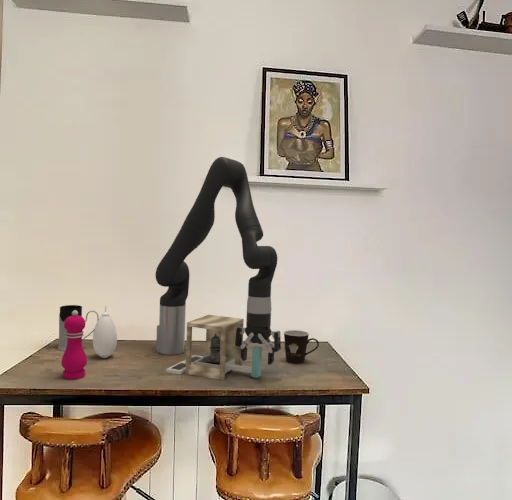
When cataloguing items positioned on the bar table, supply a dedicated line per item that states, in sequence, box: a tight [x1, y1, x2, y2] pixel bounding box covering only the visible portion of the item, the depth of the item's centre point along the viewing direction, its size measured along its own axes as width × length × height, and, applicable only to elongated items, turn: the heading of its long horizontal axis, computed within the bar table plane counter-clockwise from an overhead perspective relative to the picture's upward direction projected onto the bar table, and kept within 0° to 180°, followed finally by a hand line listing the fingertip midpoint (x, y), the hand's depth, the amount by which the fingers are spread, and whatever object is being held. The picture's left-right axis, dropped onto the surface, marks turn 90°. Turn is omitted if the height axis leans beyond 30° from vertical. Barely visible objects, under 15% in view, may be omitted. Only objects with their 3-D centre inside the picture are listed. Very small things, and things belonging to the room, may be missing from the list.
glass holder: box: [57, 304, 100, 352], centre depth 176 cm, size 9×14×15 cm, turn 94°
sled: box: [193, 345, 263, 378], centre depth 154 cm, size 20×10×9 cm, turn 68°
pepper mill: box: [60, 310, 88, 380], centre depth 145 cm, size 7×7×20 cm
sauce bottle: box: [92, 305, 118, 359], centre depth 165 cm, size 8×8×18 cm
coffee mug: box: [283, 329, 320, 365], centre depth 168 cm, size 12×9×10 cm
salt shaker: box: [206, 334, 220, 365], centre depth 156 cm, size 6×6×12 cm
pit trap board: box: [165, 354, 204, 376], centre depth 160 cm, size 5×18×1 cm, turn 158°
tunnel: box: [185, 314, 245, 381], centre depth 155 cm, size 13×14×16 cm
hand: (257, 362), depth 150 cm, fingers open, 8 cm apart
